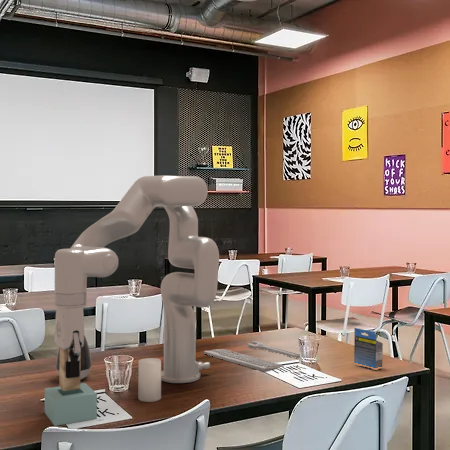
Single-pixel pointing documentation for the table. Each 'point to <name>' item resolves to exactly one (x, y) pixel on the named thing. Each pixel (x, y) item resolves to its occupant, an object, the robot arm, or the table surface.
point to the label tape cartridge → (367, 349)
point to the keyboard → (243, 359)
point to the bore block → (70, 404)
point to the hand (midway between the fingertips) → (69, 374)
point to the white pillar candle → (149, 380)
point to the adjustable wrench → (271, 349)
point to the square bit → (63, 381)
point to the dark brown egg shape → (84, 360)
